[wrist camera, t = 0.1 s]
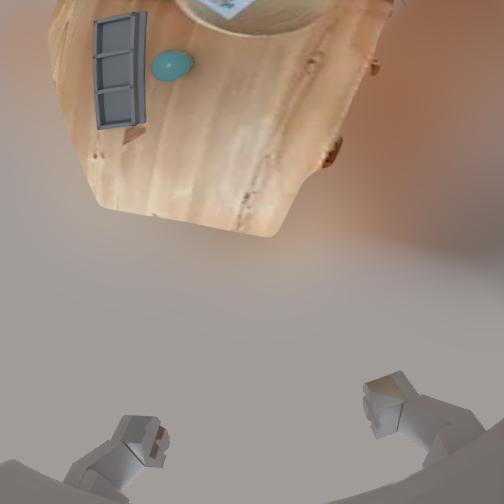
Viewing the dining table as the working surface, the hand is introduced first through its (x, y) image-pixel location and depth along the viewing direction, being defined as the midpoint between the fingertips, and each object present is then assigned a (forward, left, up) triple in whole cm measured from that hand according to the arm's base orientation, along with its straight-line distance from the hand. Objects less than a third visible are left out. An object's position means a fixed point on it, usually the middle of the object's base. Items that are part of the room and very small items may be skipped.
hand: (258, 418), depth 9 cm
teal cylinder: (-13, 0, -54) cm, 56 cm away
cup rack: (-22, -9, -54) cm, 59 cm away
